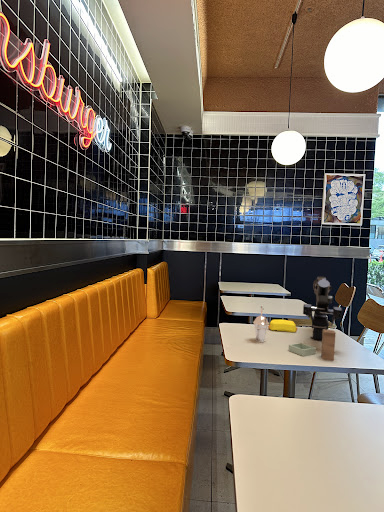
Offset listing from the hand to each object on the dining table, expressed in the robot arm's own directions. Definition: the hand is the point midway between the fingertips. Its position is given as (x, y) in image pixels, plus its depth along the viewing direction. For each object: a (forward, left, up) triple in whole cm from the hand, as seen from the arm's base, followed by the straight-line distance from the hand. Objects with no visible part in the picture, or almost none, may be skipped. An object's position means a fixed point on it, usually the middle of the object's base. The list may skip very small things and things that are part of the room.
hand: (322, 323), depth 171 cm
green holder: (+9, -4, -15) cm, 17 cm away
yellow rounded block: (-14, -39, -15) cm, 44 cm away
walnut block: (+4, +7, -15) cm, 17 cm away
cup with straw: (+16, -27, -15) cm, 35 cm away
